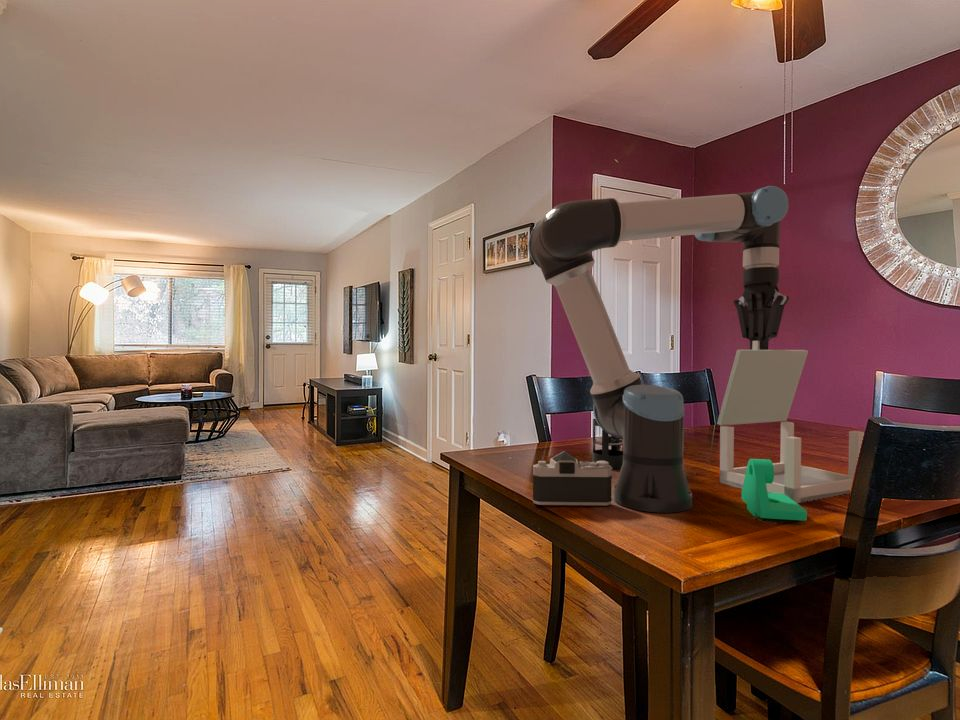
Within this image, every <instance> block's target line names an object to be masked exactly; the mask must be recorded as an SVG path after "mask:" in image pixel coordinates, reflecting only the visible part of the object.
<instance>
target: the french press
mask: <svg viewBox="0 0 960 720" xmlns="http://www.w3.org/2000/svg"><path fill="white" fill-rule="evenodd" d="M592 404H594V401H593V400H592ZM596 426H597V427H600V426H599V425H598V423H597V422H596V420H595V418H593V419H592V461H591V462H597V461H607V462H609V466H611V467H612V468H613V469H612V470H614V469H615V470H616V469H620V470H621V467H622V464H623V450H620V447H621V446H623V440H622V439H620V438H616V437H614V436H611V435H609V434H608V433H607V432H605V431H604V430H603V429H602V428H601V437H600V438H596ZM596 445H599V446H601V448H599V449H596Z"/></svg>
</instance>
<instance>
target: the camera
mask: <svg viewBox="0 0 960 720" xmlns="http://www.w3.org/2000/svg"><path fill="white" fill-rule="evenodd" d="M532 469H533V470H532V471H533V472H532V500H533V501H532V502H533V504H536V505H538V506H539V505H540V506H541V505H542V506H543V505H544V506H609V505H612V500H613V499H612V479H613V475H612V470H614V469H613V468H612V467H611V466H609V462H607V461H597V462H592V461H590V462H589V461H588V460H587V461H586V460H580V461H578V459H577V458H576V457H574V456H573V455H571V454H570V453H568V452H567V451H565V450H563V451H562V452H560V453H558V454H556V455H554V456H553V457H550V459H549V463H547V461H546V460H539V461H537V463H536V464H533V467H532Z"/></svg>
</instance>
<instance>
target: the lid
mask: <svg viewBox="0 0 960 720" xmlns="http://www.w3.org/2000/svg"><path fill="white" fill-rule="evenodd" d="M808 354H809V351H808V350H807V349H768V350H750V349H737V350H736V353H735V356H734V360H733V363H732V367H731V370H730V375H729V379H728V382H727V385H726V389H725V392H724V397H723V400H722V404H721V406H720V407H721V408H720V411H719V415H718V419H717V423H716V424H717V425H719V426H733V425H744V424H745V425H747V424H758V423H759V424H761V423H772V422H773V423H774V422H788V421H787V420H788V417H789V414H790V410H791V407H792V404H793V402H794V399H795V395H796V393H797V392H796V391H797V388H798V385H799V382H800V380H801V375H802V372H803V369H804V367H805V363H806V360H807V357H808Z"/></svg>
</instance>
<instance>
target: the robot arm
mask: <svg viewBox="0 0 960 720" xmlns="http://www.w3.org/2000/svg"><path fill="white" fill-rule="evenodd" d="M789 206H790V205H789V198H788V196H787V193H786V192H785V191H784V190H783V189H782V188H781V187H778V186H775V185H767V186H765V187H760V188H757V189H755V191H750V192H740V193H731V194H730V193H729V194H727V193H726V194H717V195H716V194H715V195H704V196H690V197H680V198H679V197H677V198H666V199H665V198H664V199H652V200H651V199H650V200H641V201H640V200H639V201H637V200H636V201H627V202H619V201H618V200H617V199H616V198H614V197H610V198H609V197H608V198H598V199H596V198H595V199H594V198H593V199H581V200H573V201H567V202H563V203H559V204H557V205H554V206H553V207H552V208H551V209H550V210H549V211H548V212H547V213H545V215H544V217H542V218H541V219H540V220H538V222H537V223H536V224H535V225H534V227H533V228H532V230H531V232H530V235H529V237H528V244H527V246H528V247H527V249H528V254H529V257H530V258H531V260H532V262H533V263H534V265H536V266H537V267H538V268H540V270H541V272H542V275H543V278H544V280H545V282H546V283H547V284H550V285H552V286H554V287H555V290H556V292H557V294H558V297H559V300H560V301H561V305H562V307H563V310H564V312H565V314H566V317H567V320H568V322H569V325H570V326H571V327H570V328H571V330H572V333H573V335H574V338H575V339H576V342H577V345H578V348H579V350H580V352H581V355H582V357H583V360H584V363H585V365H586V367H587V370H588V372H589V373H588V374H589V375H590V378H591V380H592V386H591V387H590V390H589V392H590V396H591V398H592V402H593V401H594V403H593V409H592V412H593V416H594V419H595V420H596V422H597V423H598V425H599V426H598V427H600V429H601V430H602V429H603V430H604V431H605V432H607V433H608V434H609V435H611V436H614V437H616V438H619V439H621V440H623V445H622V449H623V450H622V451H623V464H622V467H621V468H620V471H619V473H618V477H617V480H616V484H615V485H614V489H613V499H614V501H615V503H617V504H619V505H621V506H622V507H625V508H629V509H632V510H635V511H637V510H638V511H641V512H649V513H661V514H663V513H664V514H665V513H666V514H668V513H673V514H674V513H682V512H685V511H688V510H690V509H691V508H692V507H693V493H692V490H691V489H690V485H689V482H688V478H687V474H686V470H685V468H684V437H685V436H684V435H685V434H684V433H685V431H684V430H685V429H684V427H685V424H684V422H685V419H684V418H685V405H684V404H685V403H684V396H683V394H682V393H681V392H680V391H679V390H676V389H674V388H672V387H667V386H660V385H654V384H643V382H642V379H641V376H640V374H639V373H637V372H635V371H632V370H631V369H630V367H629V365H628V362H627V360H626V357H625V355H624V352H623V349H622V347H621V345H620V342H619V340H618V337H617V334H616V331H615V329H614V327H613V324H612V322H611V319H610V316H609V315H608V311H607V308H606V307H605V304H604V301H603V298H602V296H601V294H600V291H599V288H598V286H597V284H596V281H595V279H594V275H593V273H592V269H593V266H594V264H595V259H594V257H593V256H594V255H593V254H592V252H595V251H598V250H601V249H607V248H615V247H617V246H618V245H619V244H620V242H629V241H638V240H639V241H640V240H650V239H660V238H671V237H672V238H673V237H681V236H691V235H693V236H694V237H695V239H697V240H699V241H701V242H709V243H742V248H743V249H742V250H743V251H742V254H743V255H742V267H743V268H744V270H742V285H743V288H744V289H743V291H742V296H740V297H739V298H738V299H734V300H733V305H734V307H735V308H736V311H737V315H738V321H739V326H740V331H741V337H742V338H743V339H747V340H749V350H769V342H770V340H771V339H774V338H777V337H778V334H779V329H780V325H781V321H782V317H783V314H784V309H785V306H786V305H787V303H788V302H789V299H790V298H789V296H788V295H784V294H782V293H780V290H779V287H778V284H779V283H780V281H779V280H780V269H779V268H778V266H779V265H780V241H781V239H780V237H781V236H780V235H781V234H780V233H781V221H782V220H783V219H784V218H785V216H786V215H787V213H788V210H789Z"/></svg>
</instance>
